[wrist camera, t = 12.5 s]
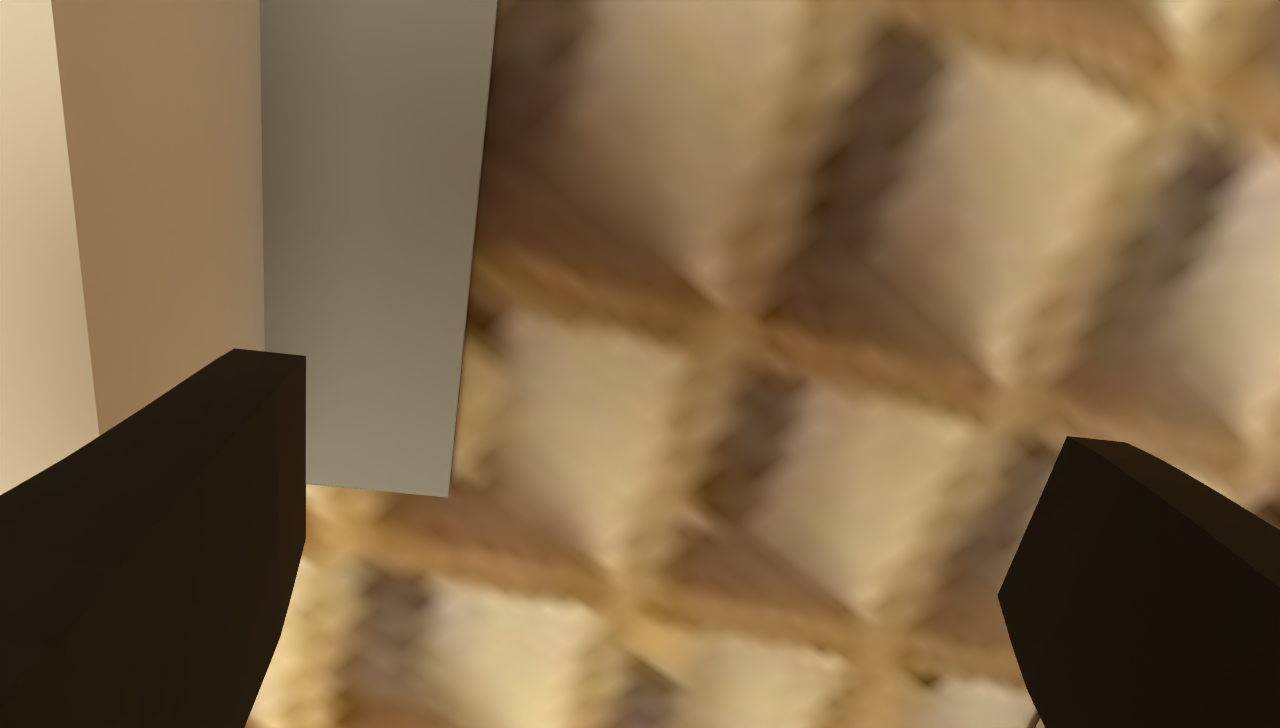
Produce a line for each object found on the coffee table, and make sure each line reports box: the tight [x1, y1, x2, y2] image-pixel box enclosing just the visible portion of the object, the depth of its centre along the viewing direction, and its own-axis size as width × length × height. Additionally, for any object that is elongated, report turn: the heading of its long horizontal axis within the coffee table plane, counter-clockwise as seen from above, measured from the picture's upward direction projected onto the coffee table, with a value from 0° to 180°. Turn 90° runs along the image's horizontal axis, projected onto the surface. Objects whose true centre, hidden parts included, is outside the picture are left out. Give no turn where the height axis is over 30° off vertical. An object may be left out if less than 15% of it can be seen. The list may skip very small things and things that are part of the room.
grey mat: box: [260, 0, 498, 497], centre depth 16 cm, size 13×12×1 cm
